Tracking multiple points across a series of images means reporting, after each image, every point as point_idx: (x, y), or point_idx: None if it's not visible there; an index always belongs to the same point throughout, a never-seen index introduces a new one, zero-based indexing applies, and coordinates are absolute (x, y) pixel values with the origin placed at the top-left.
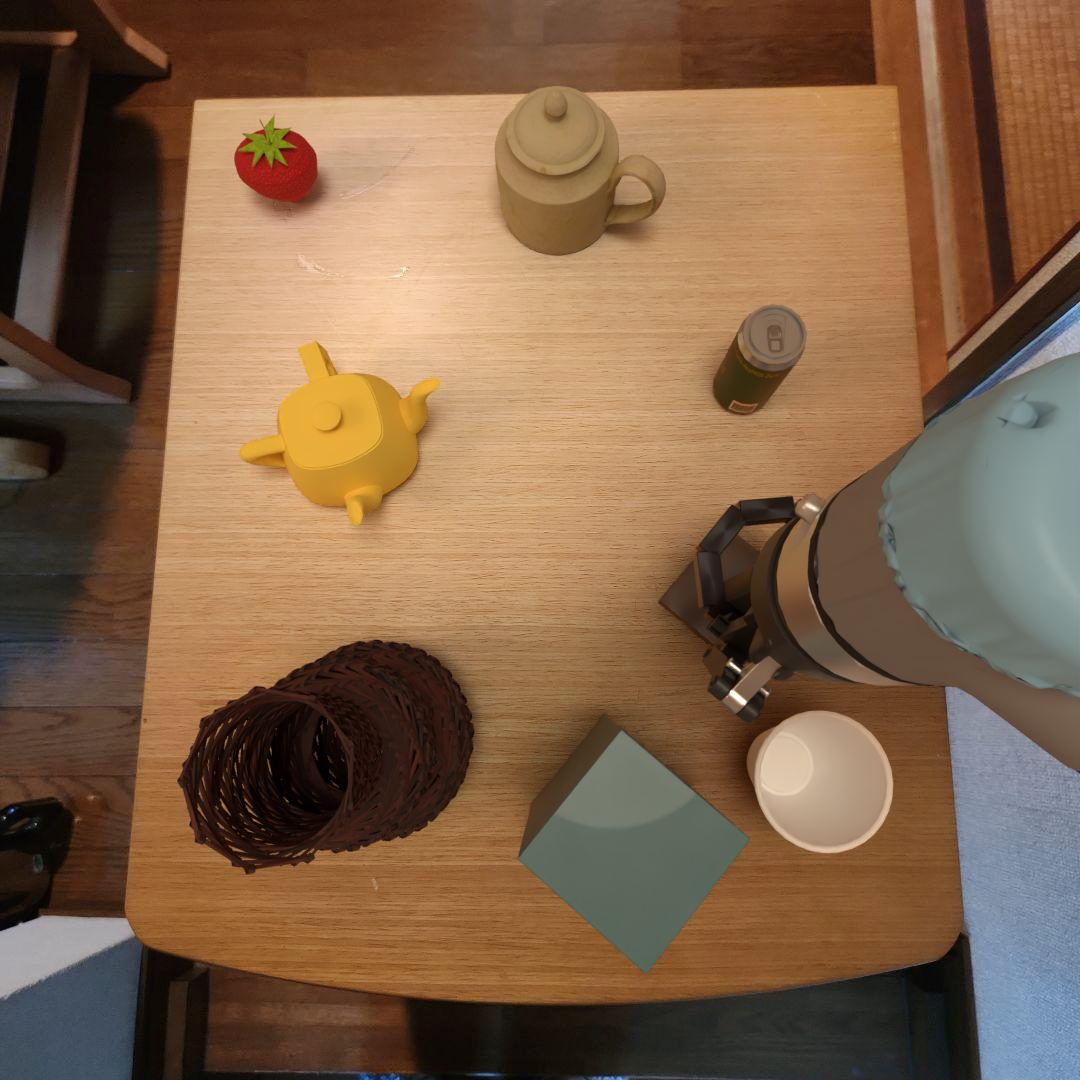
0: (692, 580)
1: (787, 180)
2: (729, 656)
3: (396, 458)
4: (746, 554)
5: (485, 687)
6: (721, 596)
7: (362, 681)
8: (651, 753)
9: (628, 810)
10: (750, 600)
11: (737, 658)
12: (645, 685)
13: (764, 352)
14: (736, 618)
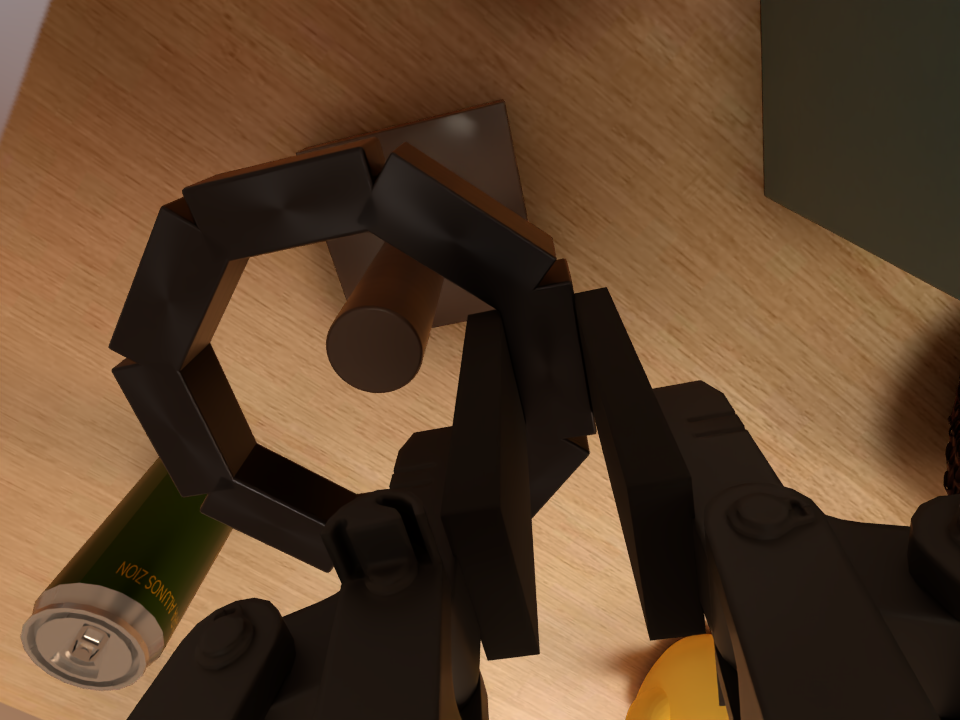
0: (471, 297)
1: (6, 624)
2: (933, 679)
3: (720, 712)
4: (357, 275)
5: (871, 358)
6: (531, 445)
7: None
8: (890, 128)
9: None
10: (529, 559)
11: (912, 649)
12: (667, 188)
13: (119, 640)
14: (658, 617)
